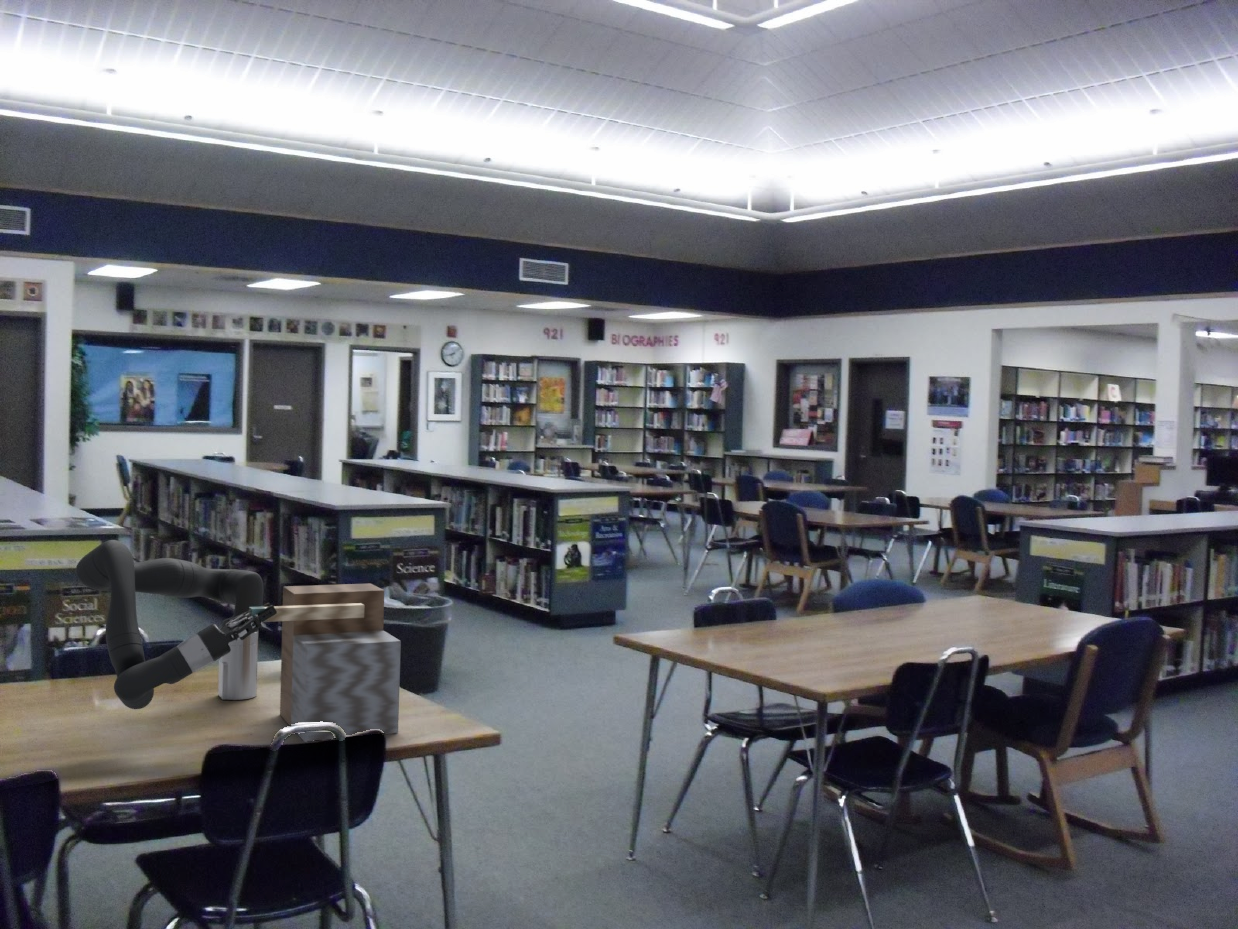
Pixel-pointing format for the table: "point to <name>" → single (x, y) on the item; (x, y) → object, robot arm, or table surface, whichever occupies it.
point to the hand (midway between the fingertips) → (272, 607)
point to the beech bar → (313, 612)
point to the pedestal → (340, 663)
